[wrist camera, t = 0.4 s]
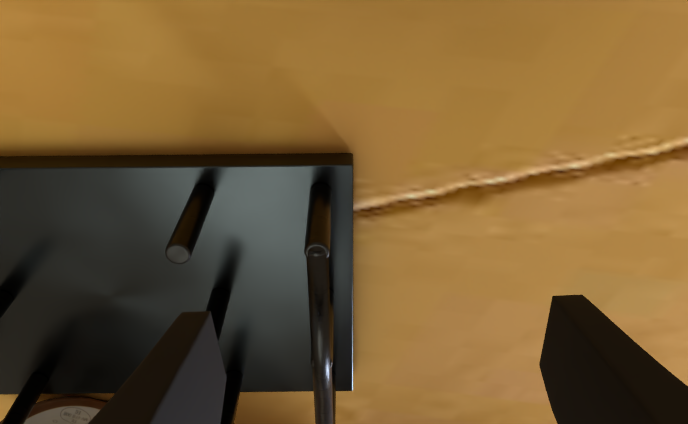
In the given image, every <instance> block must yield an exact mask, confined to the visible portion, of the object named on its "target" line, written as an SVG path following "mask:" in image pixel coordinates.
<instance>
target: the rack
mask: <svg viewBox="0 0 688 424" xmlns="http://www.w3.org/2000/svg"><path fill="white" fill-rule="evenodd" d="M199 311H211V315H212V319H213V324H214V328H215V332H216V336H217V340H218V344H219V348H220V353H221V357H222V361H223V365H224V369H225V373H226V377H227V378H226V386H225V394H224V402H223V409H222V416H221V423H220V424H234V421H235V415H236V410H237V405H238V400H239V395H240V392H287V391H314V406H315V424H335V408H336V391H353V154H352V153H316V154H214V155H111V156H9V157H0V394H19V395H18V397H17V398H16V400H15V402H14V403H13V405H12V406H11V408H10V410H9V411H8V413H7V415H6V416H5V418H4V420H3V421H2V423H1V424H24V423H25V421H26V419H27V417H28V416H29V414H30V412H31V410H32V409H33V407H34V405H35V403H36V402H37V400H38V398H39V396H40V395H41V394H85V393H116V392H117V391H118V390H119V389H120V387H121V386H122V385H123V384H124V383H125V381H126V380H127V379H128V378H129V377H130V376H131V374H132V373H133V372H134V371H135V370H136V368H137V367H138V366H139V365H140V364H141V362H142V361H143V360H144V359H145V357H146V356H147V355H148V354H149V352H150V351H151V350H152V349H153V347H154V346H155V345H156V344H157V342H158V341H159V340H160V339H161V337H162V336H163V335H164V334H165V332H166V331H167V330H168V328H169V327H170V326H171V325H172V323H173V322H174V321H175V320H176V318H177V317H178V316H179V315H180V314H181V313H182V312H199Z"/></svg>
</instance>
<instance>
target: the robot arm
mask: <svg viewBox="0 0 688 424" xmlns="http://www.w3.org/2000/svg"><path fill="white" fill-rule="evenodd" d="M539 365H540V369H541V373H542V376H543V380H544V384H545V387H546V391H547V394H548V398H549V401H550V404H551V408H552V411H553V413H554V416H555V418H556V421H557V423H558V424H688V386H686V385H685V384H684V383H683V382H682V381H680V380H679V379H678V378H677V377H675V376H674V375H673V374H672V373H671V372H669V371H668V370H667V369H666V368H665V367H663V366H662V365H661V364H660V363H659V362H657V361H656V360H655V359H654V358H653V357H652V356H650V355H649V354H648V353H647V352H646V351H645V350H643V349H642V348H641V347H640V346H639V345H638V344H637V343H636V342H634V341H633V340H632V339H631V338H630V337H629V336H628V335H627V334H625V333H624V332H623V331H622V330H621V329H620V328H619V327H618V326H617V325H615V324H614V323H613V322H612V321H611V320H610V319H609V318H608V317H607V316H605V315H604V314H603V313H602V312H601V311H600V310H599V309H598V308H597V307H596V306H594V305H593V304H592V303H591V302H590V301H589V300H588V299H587V298H585V297H584V296H583V295H564V296H553V297H552V302H551V307H550V313H549V318H548V323H547V328H546V333H545V339H544V344H543V349H542V354H541V359H540V364H539ZM226 378H227V377H226V373H225V369H224V365H223V361H222V357H221V353H220V348H219V344H218V340H217V336H216V332H215V328H214V324H213V319H212V315H211V311H199V312H182V313H181V314H180V315H179V316H178V317H177V318H176V320H175V321H174V322H173V323H172V325H171V326H170V327H169V328H168V330H167V331H166V332H165V334H164V335H163V336H162V337H161V339H160V340H159V341H158V342H157V344H156V345H155V346H154V347H153V349H152V350H151V351H150V352H149V354H148V355H147V356H146V357H145V359H144V360H143V361H142V362H141V364H140V365H139V366H138V367H137V368H136V370H135V371H134V372H133V373H132V374H131V376H130V377H129V378H128V379H127V380H126V381H125V383H124V384H123V385H122V386H121V387H120V389H119V390H118V391H117V392H116V393H115V394H114V396H113V397H112V398H111V399H110V400H109V401H108V402H107V403H106V404H105V405H104V407H103V408H102V409H101V410H100V411H99V412H98V413H97V414H96V415H95V416H94V417H93V418H92V420H91V421H90V422H89V423H88V424H220V423H221V416H222V409H223V402H224V394H225V386H226Z"/></svg>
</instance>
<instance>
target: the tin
mask: <svg viewBox="0 0 688 424" xmlns="http://www.w3.org/2000/svg"><path fill="white" fill-rule="evenodd" d="M106 403H107V402H103V401H100V400H96V399H91V398H84V397H60V398H53V399H48V400H44V401H41V402H37V403H35V405H34V407H33V409H32V410H31V412H30V414H29V416H28V417H27V419H26V421H25V423H24V424H88V423H89V422H90V421H91V420H92V418H93V417H94V416H95V415H96V414H97V413H98V412H99V411H100V410H101V409H102V408H103V407H104V405H105V404H106ZM3 420H4V419H3ZM3 420H2V421H3ZM2 421H1V422H0V424H1V423H2Z"/></svg>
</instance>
